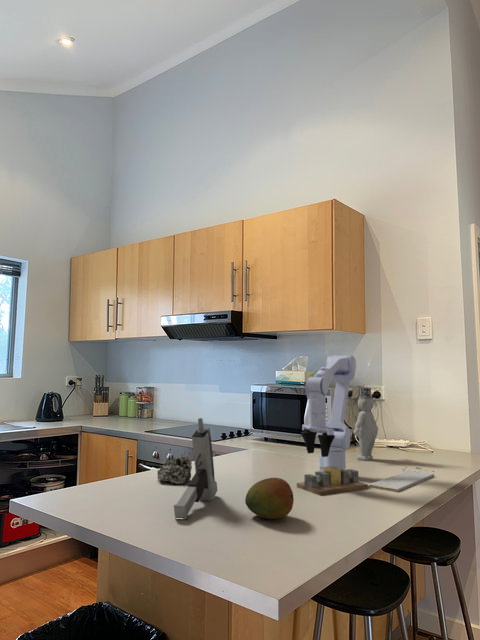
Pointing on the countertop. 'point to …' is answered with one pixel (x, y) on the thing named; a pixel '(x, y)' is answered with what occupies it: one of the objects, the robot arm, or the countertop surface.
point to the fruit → (270, 498)
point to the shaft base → (322, 487)
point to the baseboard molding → (401, 480)
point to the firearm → (199, 473)
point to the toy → (366, 425)
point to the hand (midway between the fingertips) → (317, 454)
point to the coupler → (333, 475)
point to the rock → (176, 470)
